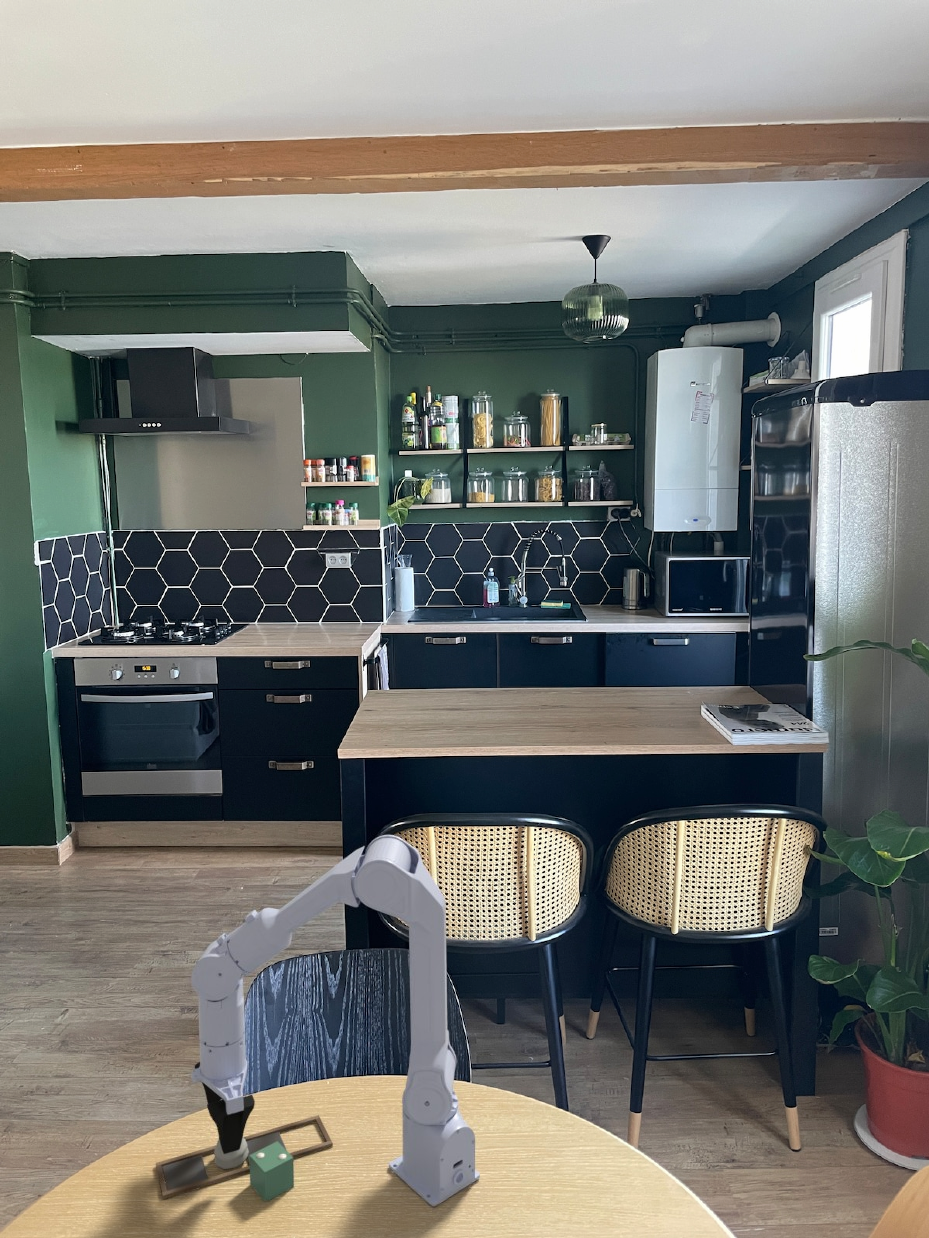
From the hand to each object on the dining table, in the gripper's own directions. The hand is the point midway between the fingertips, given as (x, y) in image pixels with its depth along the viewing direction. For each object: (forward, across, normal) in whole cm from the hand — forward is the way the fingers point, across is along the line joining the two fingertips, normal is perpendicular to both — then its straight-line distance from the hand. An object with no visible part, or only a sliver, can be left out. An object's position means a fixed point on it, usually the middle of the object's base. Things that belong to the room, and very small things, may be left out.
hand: (225, 1131), depth 120 cm
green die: (+4, +7, +4) cm, 9 cm away
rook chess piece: (+4, 0, +1) cm, 4 cm away
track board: (+4, 0, +3) cm, 5 cm away
